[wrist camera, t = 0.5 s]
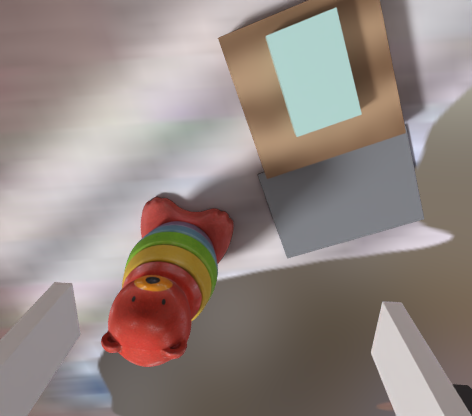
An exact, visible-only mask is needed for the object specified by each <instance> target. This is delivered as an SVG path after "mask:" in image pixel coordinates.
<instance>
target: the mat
mask: <svg viewBox="0 0 472 416" xmlns="http://www.w3.org/2000/svg"><path fill="white" fill-rule="evenodd" d="M405 130H406V125H405ZM258 177H259V180H260V183H261V186H262V188H263V191H264V194H265V197H266V200H267V202H268V205H269V208H270V211H271V214H272V217H273V219H274V222H275V225H276V228H277V231H278V233H279V236H280V239H281V242H282V245H283V248H284V250H285V253H286V256H287V258H291V257H294V256H298V255H301V254H305V253H308V252H311V251H315V250H318V249H322V248H325V247H329V246H332V245H336V244H339V243H343V242H346V241H350V240H353V239H357V238H360V237H364V236H367V235H371V234H374V233H378V232H381V231H384V230H388V229H391V228H395V227H398V226H402V225H405V224H409V223H412V222H416V221H419V220H423V219H424V216H423V211H422V206H421V200H420V195H419V191H418V186H417V180H416V175H415V170H414V165H413V160H412V155H411V150H410V145H409V140H408V135H407V130H406V133H405V134H402V135H399V136H396V137H393V138H390V139H387V140H384V141H381V142H378V143H375V144H372V145H368V146H365V147H362V148H359V149H356V150H353V151H350V152H347V153H344V154H341V155H338V156H335V157H332V158H329V159H326V160H323V161H320V162H317V163H314V164H311V165H308V166H305V167H302V168H299V169H296V170H293V171H290V172H287V173H284V174H281V175H278V176H275V177H272V178H269V179H267V178H266V175H265V172H263V173H260V174H258Z"/></svg>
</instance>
